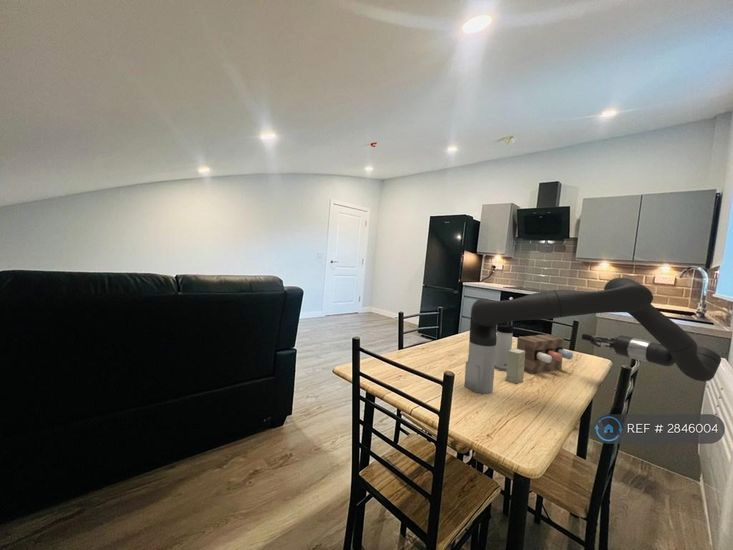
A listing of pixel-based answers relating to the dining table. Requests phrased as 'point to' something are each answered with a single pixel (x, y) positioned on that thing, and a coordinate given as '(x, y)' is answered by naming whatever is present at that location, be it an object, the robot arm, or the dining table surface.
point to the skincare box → (515, 365)
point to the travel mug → (503, 346)
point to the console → (540, 345)
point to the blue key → (565, 354)
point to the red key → (555, 355)
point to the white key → (544, 357)
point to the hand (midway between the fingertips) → (582, 336)
